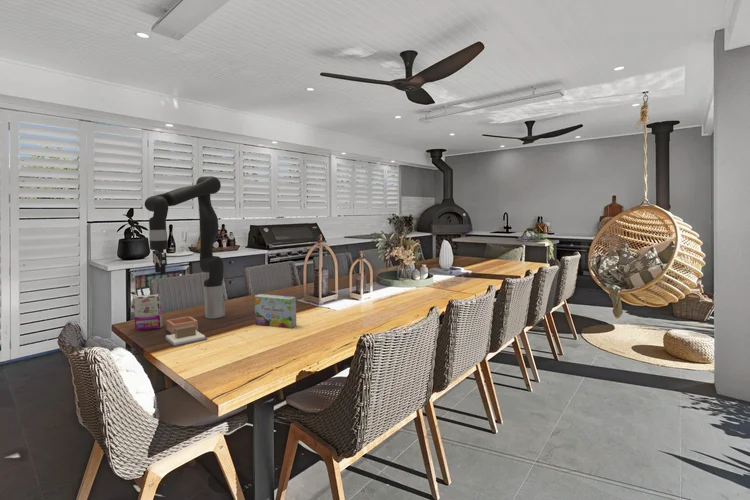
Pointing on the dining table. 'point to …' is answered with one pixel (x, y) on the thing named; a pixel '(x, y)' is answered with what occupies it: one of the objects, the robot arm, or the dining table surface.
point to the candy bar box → (147, 312)
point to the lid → (185, 335)
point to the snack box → (275, 310)
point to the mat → (184, 343)
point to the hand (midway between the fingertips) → (160, 273)
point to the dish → (180, 323)
